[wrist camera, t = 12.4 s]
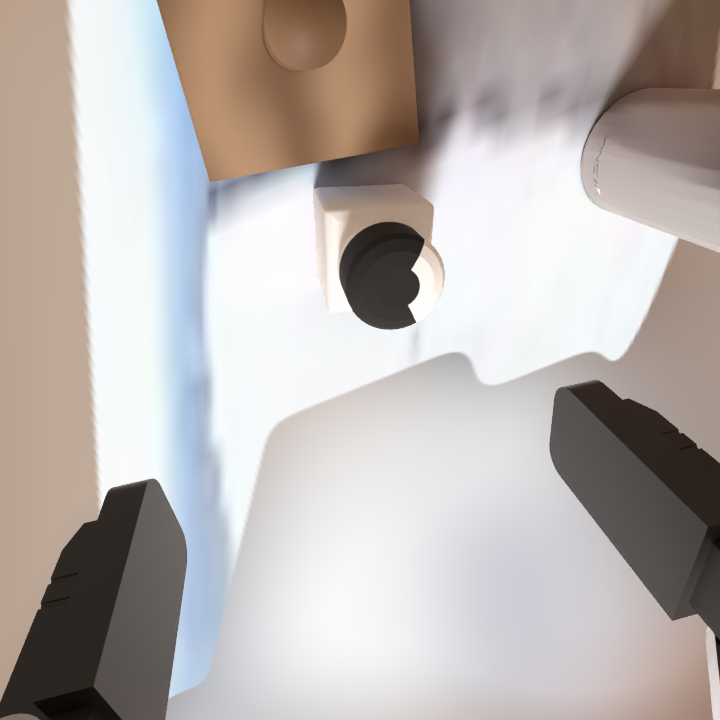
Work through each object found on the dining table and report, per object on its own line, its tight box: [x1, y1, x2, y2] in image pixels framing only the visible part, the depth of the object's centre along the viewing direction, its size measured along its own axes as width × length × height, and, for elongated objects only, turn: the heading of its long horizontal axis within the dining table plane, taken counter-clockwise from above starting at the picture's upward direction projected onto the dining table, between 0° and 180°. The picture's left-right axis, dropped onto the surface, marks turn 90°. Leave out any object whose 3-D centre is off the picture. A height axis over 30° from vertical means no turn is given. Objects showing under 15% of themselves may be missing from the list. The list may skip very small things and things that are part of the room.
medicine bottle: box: [313, 184, 445, 330], centre depth 33 cm, size 7×7×12 cm
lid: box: [157, 0, 419, 182], centre depth 23 cm, size 13×13×8 cm
